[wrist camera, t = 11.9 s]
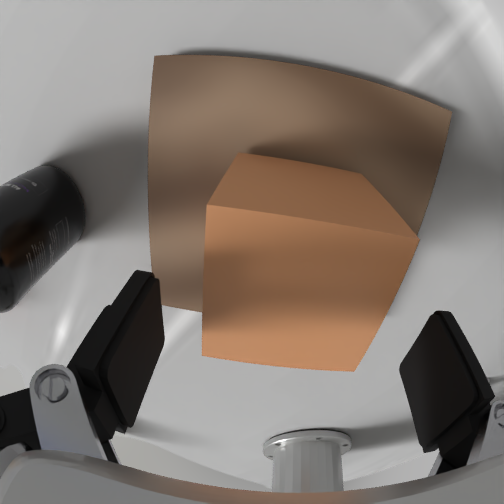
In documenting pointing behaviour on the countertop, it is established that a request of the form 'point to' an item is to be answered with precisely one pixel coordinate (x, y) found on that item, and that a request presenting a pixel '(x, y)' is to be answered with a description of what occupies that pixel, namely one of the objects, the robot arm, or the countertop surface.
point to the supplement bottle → (35, 228)
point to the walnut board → (272, 145)
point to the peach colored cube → (299, 264)
